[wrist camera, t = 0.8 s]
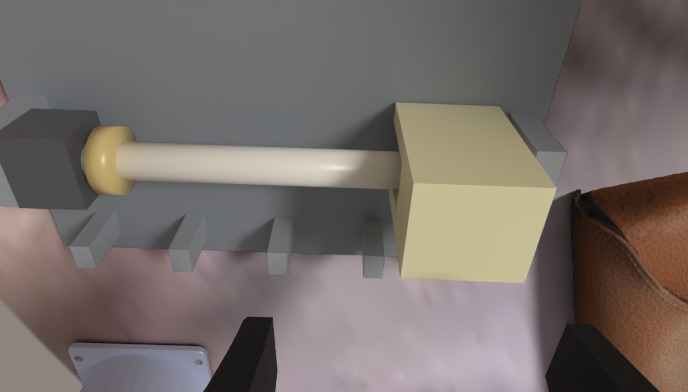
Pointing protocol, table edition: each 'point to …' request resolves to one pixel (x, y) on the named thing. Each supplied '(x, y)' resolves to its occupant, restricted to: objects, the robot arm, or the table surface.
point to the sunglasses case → (636, 273)
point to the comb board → (251, 114)
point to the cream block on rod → (466, 195)
